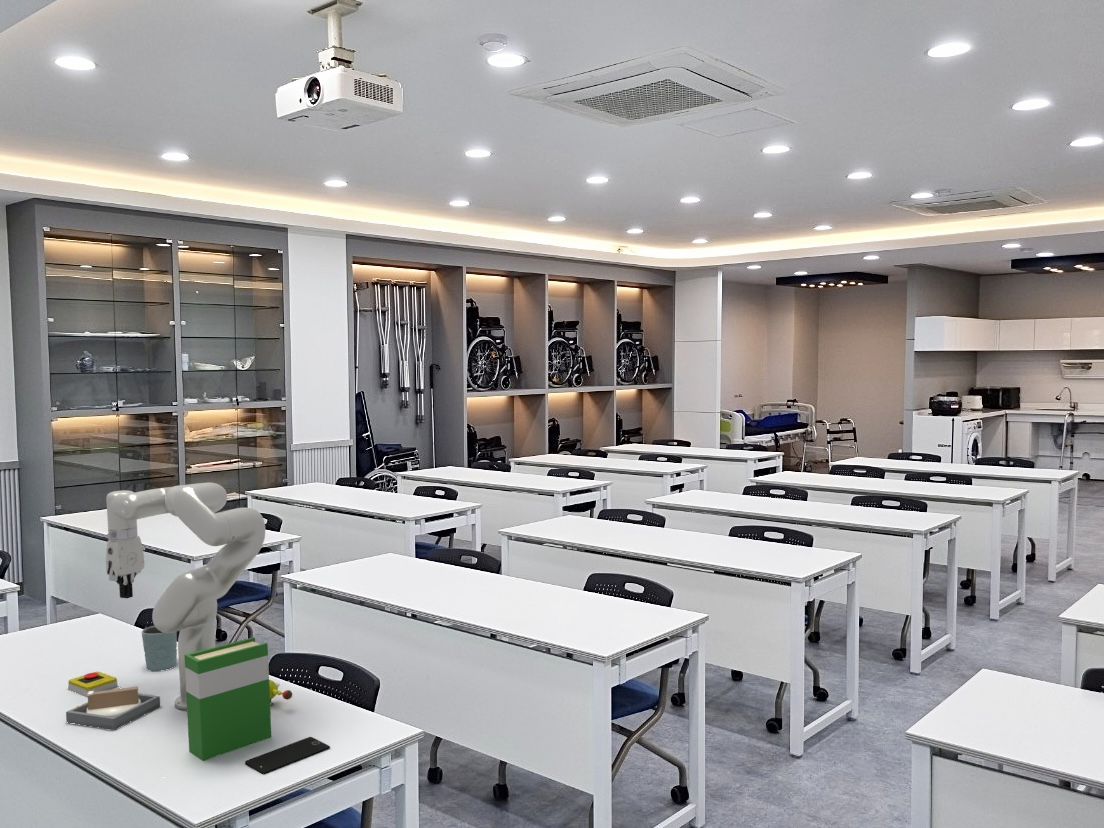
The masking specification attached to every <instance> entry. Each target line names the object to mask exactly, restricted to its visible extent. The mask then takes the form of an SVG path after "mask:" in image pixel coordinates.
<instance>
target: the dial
mask: <svg viewBox="0 0 1104 828" xmlns="http://www.w3.org/2000/svg"><path fill="white" fill-rule="evenodd" d="M121 688H122V689H114V690H106V691H98V692H94V691H89V692H88V694H87V695H88V697H87V702H88V708H87V713H89V714H96V715H103V716H110V717H115V716H117V715H119V714H121V713H123V712H125V711H127V710H129V709H131V708H133V707H135V706H137V705H139V704H141V701H140V699H139V696H138V693H139V686H131V687H121Z"/></svg>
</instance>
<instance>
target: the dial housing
mask: <svg viewBox="0 0 1104 828" xmlns="http://www.w3.org/2000/svg"><path fill="white" fill-rule="evenodd" d="M138 696H139V699H140V701H141V704H139V705H137V706H135V707H133V708H131V709H129V710H127V711H125V712H123V713H121V714H119V715H117V716H115V717H110V716H103V715H96V714H89V713H87V708H88V701H87V702H85V703H82V704H80V705H77V706H75V707H73V708H72V709H69V710H67V711H65V716H66V719H65V720H66V723H67V722H68V723H67V724H70V723H75V724H74V725H76V724H80V725H79V726H82V725H86V726H85V727H89V726H92V727H91V728H95V727H99V728H98V729H102V728H104V729H103V730H108V729H109V730H110V731H116V730H118V729H119V727H120V728H121V726H122V727H123V725H124V726H126V725H128V724H130V723H131V722H133V721H135V720H137V719H140V718H142V717H143V716H145V715H147V714H149V713H151V712H153V711H155V710H158V709H159V708H160V707H161V699H160V698H161V696H160V695H152V694H146V693H140V692H138ZM144 714H145V715H144ZM130 721H131V722H130ZM129 722H130V723H129ZM127 723H128V724H127ZM125 724H126V725H125ZM117 728H118V729H117Z"/></svg>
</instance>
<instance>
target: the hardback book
mask: <svg viewBox="0 0 1104 828" xmlns="http://www.w3.org/2000/svg"><path fill="white" fill-rule="evenodd" d="M268 648H269V645H268V643H267V642H263V643H258V642H256V637H253V636H252V637H249V638H246V639H243V640H242V639H241V640H238V641H234V642H233V641H232V642H230V643H226V644H221V645H217V646H215V647H213V648H209V649H205V650H201V651H197V652H193V653H190V654H186V655H184V657H185V677H186V697H187V710H186V712H187V713H186V716H187V731H188V732H187V733H188V752H189V753H191V755H193V756H195V757H196V758H197V759H198V760H200V761H202V762H204V761H207V760H211V759H214V758H216V757H219V756H221V755H224V754H228V753H230V752H234V751H235V750H239V749H242V748H245V747H248V746H251V745H253V744H257V743H259V742H262V741H265V740H269V739H272V716H271V715H272V714H271V706H270V689H269V680H270V671H269V669H270V668H269V649H268Z"/></svg>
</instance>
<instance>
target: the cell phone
mask: <svg viewBox="0 0 1104 828" xmlns="http://www.w3.org/2000/svg"><path fill="white" fill-rule="evenodd" d="M328 750H331V746H330V745H329V744H326V743H325V742H323V741H320V740H319V739H317V738H315V737H313V736H308V737H306V738H302V739H300V740H297V741H295V742H291V743H289V744H287V745H284V746H282V747H278V748H276V749H273V750H270V751H268V752H265V753H262V754H260V755H257V756H254V757H252V758H249V759H247V760H245V761H244V765H245V766H247V767H249V768H251V769H252V770H253V771H256V772H257V773H259V774H261V775H262V776H263V775H267V774H269V773H272V772H275V771H277V770H279V769H283V768H285V767H287V766H290V765H292V764H296V763H297V762H300V761H303V760H305V759H308V758H311V757H313V756H315V755H318V754H321V753H323V752H325V751H326V752H327V751H328Z"/></svg>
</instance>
